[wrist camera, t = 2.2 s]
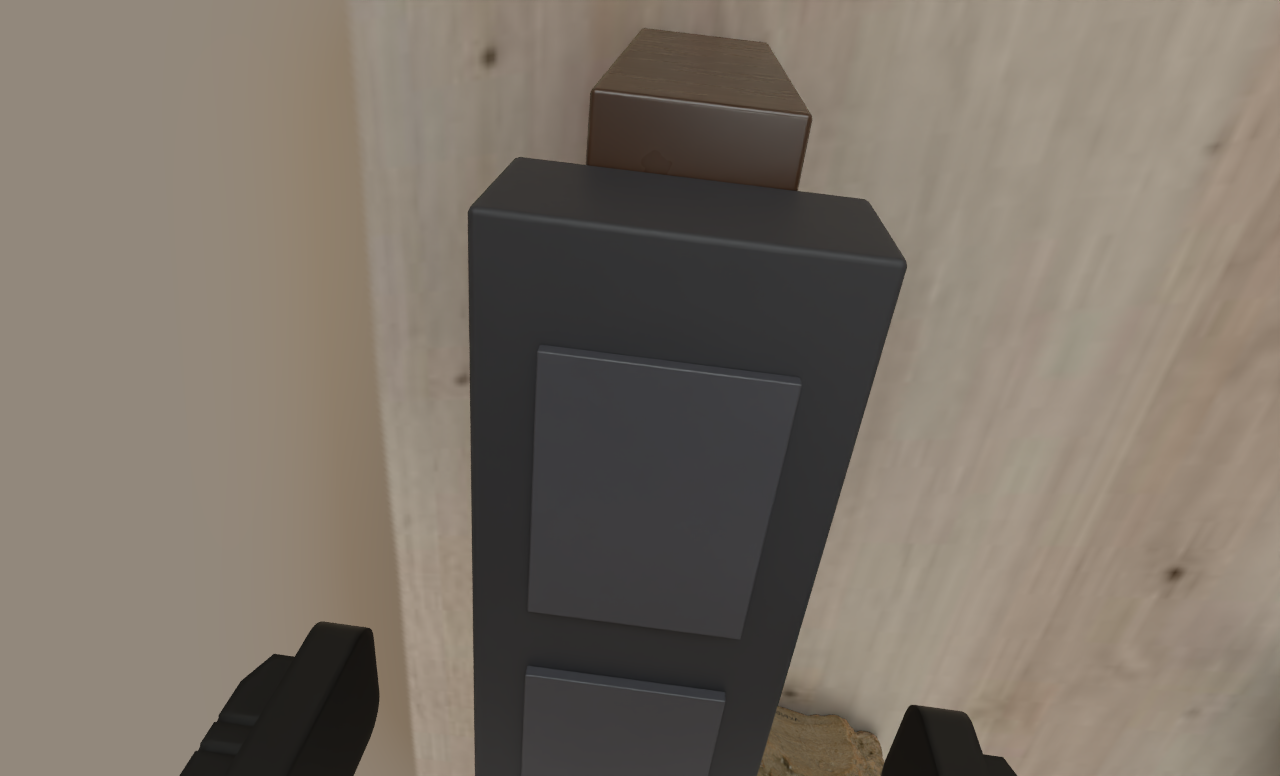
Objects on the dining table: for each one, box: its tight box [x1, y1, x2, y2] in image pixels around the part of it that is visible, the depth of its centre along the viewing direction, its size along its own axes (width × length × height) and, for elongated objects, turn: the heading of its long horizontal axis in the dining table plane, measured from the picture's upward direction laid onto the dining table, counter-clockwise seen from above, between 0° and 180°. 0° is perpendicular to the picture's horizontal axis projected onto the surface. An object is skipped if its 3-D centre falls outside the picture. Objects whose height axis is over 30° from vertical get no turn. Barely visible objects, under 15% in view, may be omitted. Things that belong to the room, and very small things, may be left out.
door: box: [468, 157, 907, 776], centre depth 13 cm, size 14×5×3 cm, turn 174°
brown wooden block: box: [586, 28, 812, 191], centre depth 18 cm, size 16×3×9 cm, turn 174°
